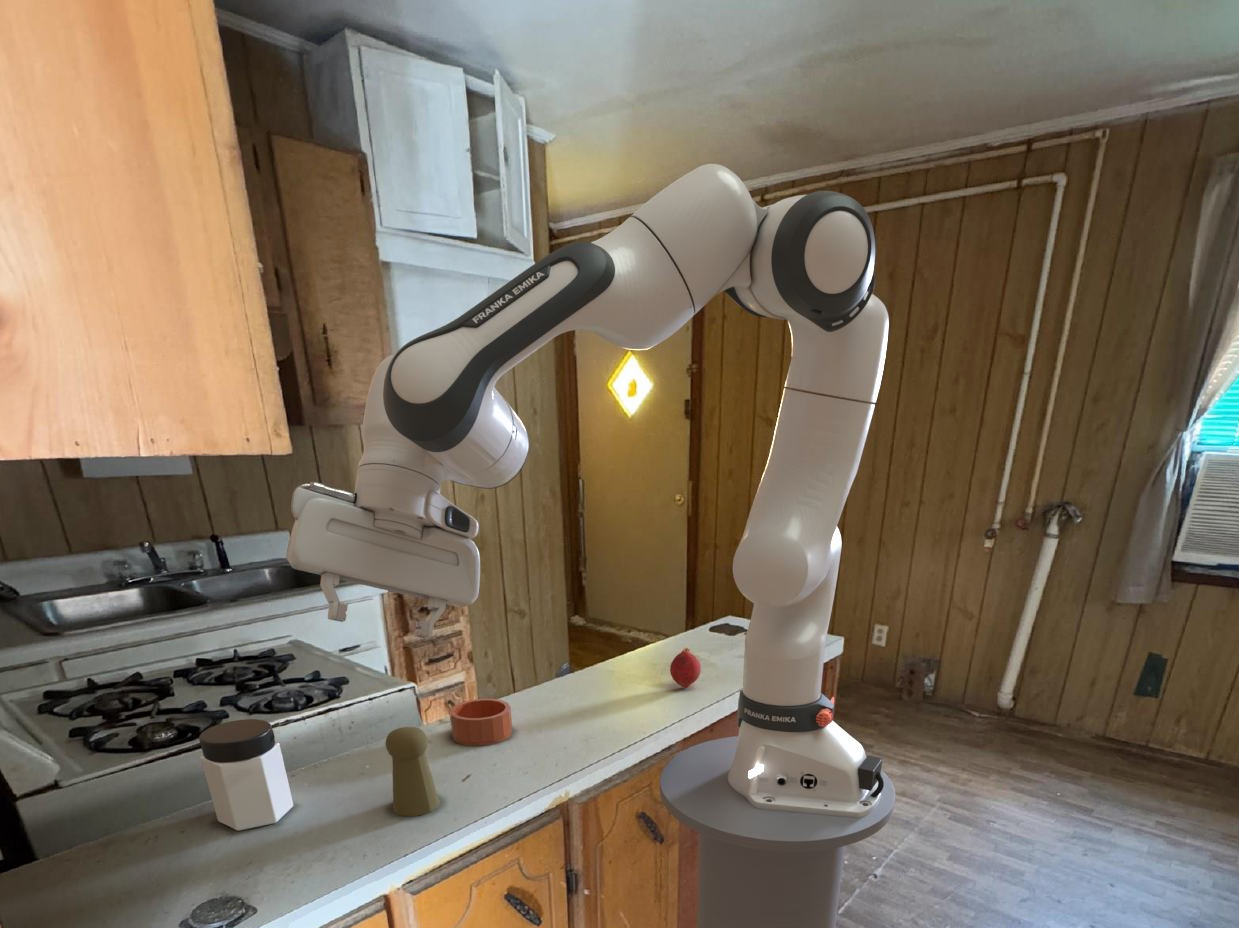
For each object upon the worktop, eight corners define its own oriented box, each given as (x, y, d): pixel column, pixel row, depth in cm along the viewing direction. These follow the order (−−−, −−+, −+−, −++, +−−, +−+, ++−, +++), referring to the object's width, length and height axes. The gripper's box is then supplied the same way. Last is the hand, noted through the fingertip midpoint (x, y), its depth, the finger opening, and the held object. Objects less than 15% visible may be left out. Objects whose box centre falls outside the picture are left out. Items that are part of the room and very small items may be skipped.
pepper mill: (387, 802, 100) (374, 728, 96) (430, 790, 103) (420, 718, 99) (401, 820, 96) (388, 743, 91) (446, 807, 99) (436, 732, 94)
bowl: (523, 728, 124) (521, 703, 122) (490, 749, 116) (487, 723, 114) (475, 720, 128) (472, 695, 126) (440, 740, 120) (437, 714, 118)
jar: (305, 810, 98) (287, 727, 94) (246, 837, 92) (223, 749, 87) (266, 793, 103) (247, 713, 98) (207, 818, 97) (183, 733, 92)
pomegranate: (690, 694, 139) (691, 654, 136) (664, 689, 142) (664, 649, 138) (705, 686, 143) (706, 646, 140) (679, 681, 146) (680, 641, 143)
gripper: (301, 467, 73) (284, 605, 73) (492, 526, 86) (478, 644, 85) (288, 483, 78) (272, 611, 78) (470, 537, 91) (456, 648, 90)
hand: (381, 629), depth 81 cm, fingers open, 8 cm apart
